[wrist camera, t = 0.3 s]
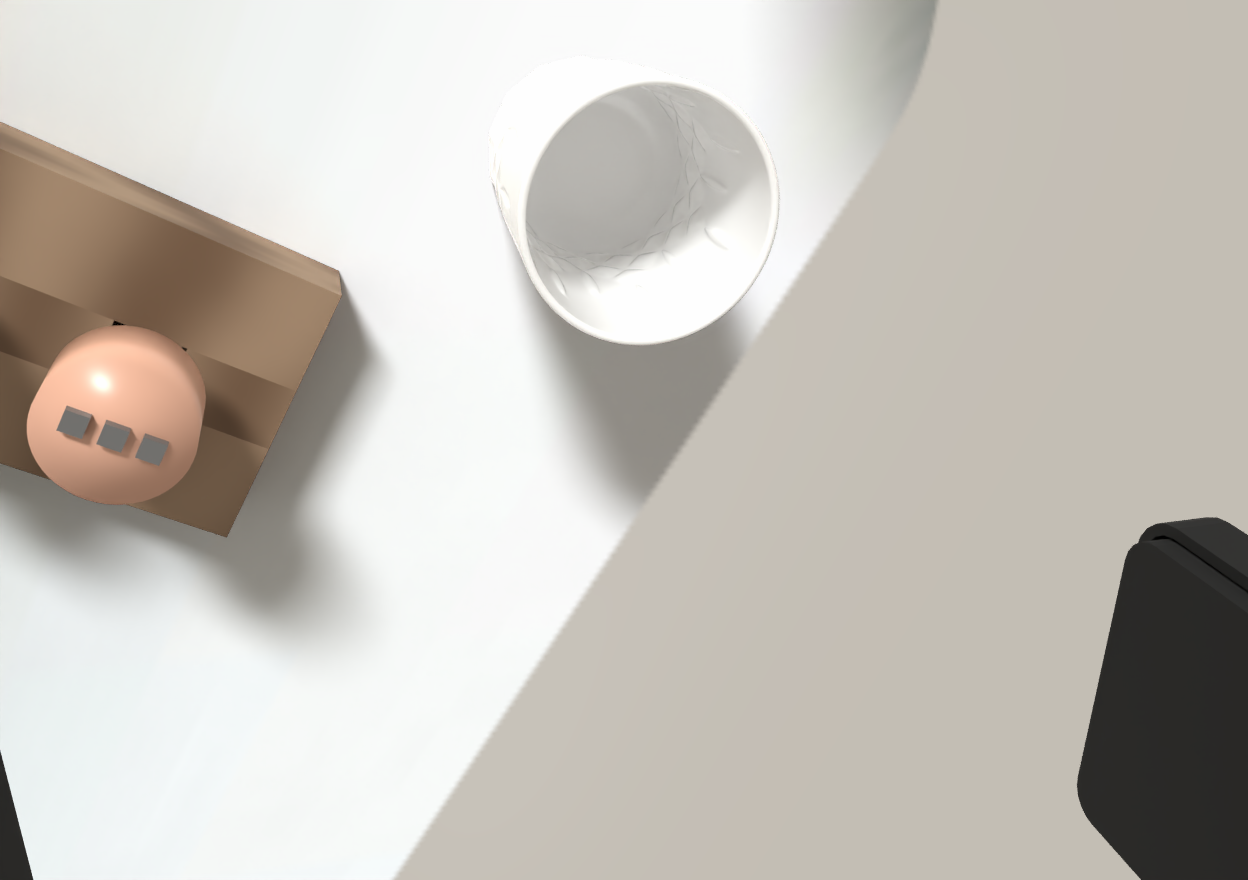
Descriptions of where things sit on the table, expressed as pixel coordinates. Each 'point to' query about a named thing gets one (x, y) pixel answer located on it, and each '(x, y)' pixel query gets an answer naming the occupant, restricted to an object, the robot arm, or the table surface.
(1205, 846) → the robot arm
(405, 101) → the table surface
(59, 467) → the plunger
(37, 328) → the button board
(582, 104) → the white cup
